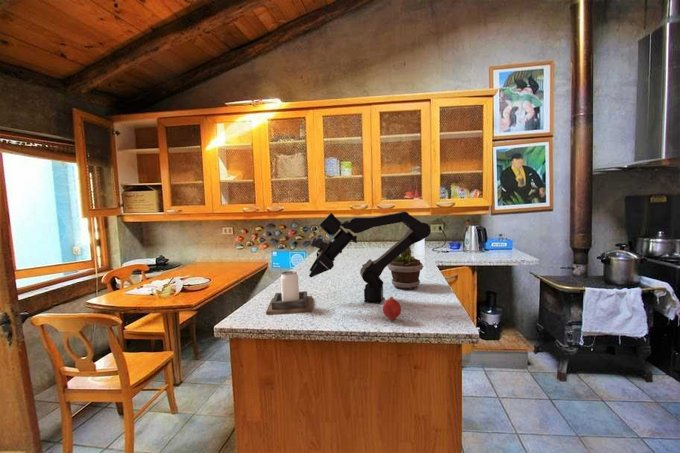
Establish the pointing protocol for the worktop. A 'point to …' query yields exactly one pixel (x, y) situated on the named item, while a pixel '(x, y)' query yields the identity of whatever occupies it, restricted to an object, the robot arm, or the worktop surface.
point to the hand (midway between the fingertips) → (310, 273)
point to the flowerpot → (405, 271)
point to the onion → (391, 309)
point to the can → (289, 286)
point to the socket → (290, 304)
